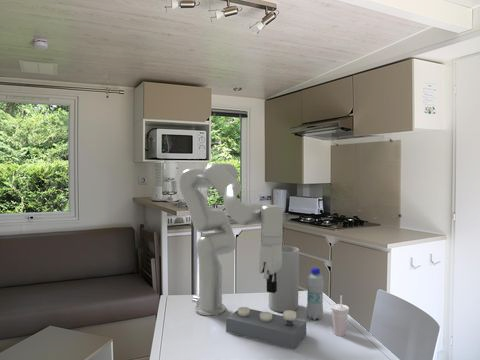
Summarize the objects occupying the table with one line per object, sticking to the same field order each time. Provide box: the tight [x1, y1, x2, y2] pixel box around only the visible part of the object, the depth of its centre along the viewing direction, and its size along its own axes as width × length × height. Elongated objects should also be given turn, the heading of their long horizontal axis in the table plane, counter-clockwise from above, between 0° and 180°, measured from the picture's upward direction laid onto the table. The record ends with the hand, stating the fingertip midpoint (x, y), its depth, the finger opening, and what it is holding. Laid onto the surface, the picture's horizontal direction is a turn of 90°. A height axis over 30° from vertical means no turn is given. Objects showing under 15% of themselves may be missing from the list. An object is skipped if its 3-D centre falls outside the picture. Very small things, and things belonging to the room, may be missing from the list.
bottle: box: [306, 267, 325, 321], centre depth 146 cm, size 7×7×20 cm
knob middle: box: [260, 311, 273, 322], centre depth 132 cm, size 4×4×6 cm
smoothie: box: [330, 295, 350, 337], centre depth 133 cm, size 6×6×14 cm
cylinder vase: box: [268, 245, 300, 313], centre depth 157 cm, size 12×12×25 cm
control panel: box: [225, 308, 307, 350], centre depth 132 cm, size 26×12×5 cm, turn 61°
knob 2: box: [282, 310, 297, 327], centre depth 128 cm, size 4×4×6 cm
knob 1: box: [237, 306, 251, 316], centre depth 137 cm, size 4×4×6 cm
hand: (271, 291), depth 131 cm, fingers closed
